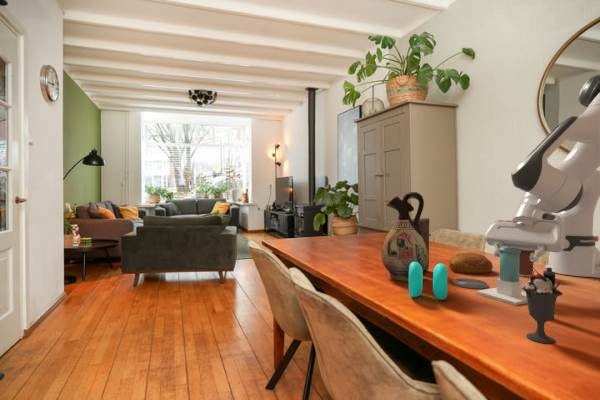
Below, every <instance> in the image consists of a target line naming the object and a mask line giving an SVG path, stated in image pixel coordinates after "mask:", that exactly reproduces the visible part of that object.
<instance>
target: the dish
mask: <svg viewBox="0 0 600 400" xmlns="http://www.w3.org/2000/svg"><path fill="white" fill-rule="evenodd" d="M452 284H453V285H455V286H457V287H460V288H466V289H472V290H473V289H475V290H476V289H477V290H479V289H480V290H484V289H488V283H487V282H485V281H484V280H480V279H476V278H468V277H467V278H464V277H463V278H461V277H460V278H455V279H453V280H452Z"/></svg>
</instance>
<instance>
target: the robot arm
mask: <svg viewBox="0 0 600 400" xmlns="http://www.w3.org/2000/svg"><path fill="white" fill-rule="evenodd" d="M578 102H579V103H580V105H581V106H583V107H585V110H584V111H583V113H581V114H579V115H578V116H576V115H575V116H574V115H572V116H570V117H568V118H566V119H565V120H563V121H562V122H560V123H559V124H558V125H557V126H556V127H555V128H554V129H553V130H552V131H551V132H550V133H549V134H548V135H547V136H546V137H545V138H544V139H543V140H542V141H541V142H540V143H539V144H538V145H536V147H535V148H534V149H533V150H532V151H531V152H530V153H529V154H528V155H527V156H526V157H525V158H524V159H522V160H521V161H520V162H519V163H518V164H516V166H515V167H514V168H513V170H512V171H511V173H510V177H511V181H512V184H513V186H514V187H515V188H517V189H518V190H521V191H523V194H522V195H521V198H520V204H519V205H518V206H517V208H516V209H515V212H514V214H513V216H512V218H511V220H502V219H499V220H495V221H493V222H492V223H491V225H490V226H489V228H488V229H487V231H486V232H485V233H484V239H485V241H486V243H487V244H488V246H494V252H493V253H494V256H495V257H497V258H500V252H499V248H500V247H511V248H520V249H530V250H535V253H531V254H530V255H531V256H530V257H529V258H530V261H534V263H535V262H536V263H537V262H538V260H539V258H540V257H542V256H544V255H546V252H548V253H549V257H548V264H545V267H544V268H545V269H547V268H552V272H555V274H561V275H565V276H566V275H567V276H573V277H584V278H585V277H586V278H587V277H588V278H595V279H596V278H597V279H600V249H598V248H597V247H596V242H599V239H600V237H599V236H598V235H593V234H594V232H593V229H594V214H595V210H596V207H597V204H598V201H599V199H600V170H599V167H600V74H596V75H594V76H592V77H590V78H589V79H588V80H587V81H586V82H585V83H584V84H583V85H582V87H581V89H580V91H579V97H578ZM564 142H575V144H574V146H573V148H572V149H571V150H570V151H569V152H568V153H567V155H566V156H565V157H564V158H563V159H561V161H560V162H559V163H557V164H556V165H555V166H553V165H551V164H550V162H548V159H549V158H550V157H551V156H552V155H553V153H554V152H555V151H556V150H558V149H559V147H560V146H561V145H562V144H563V143H564Z"/></svg>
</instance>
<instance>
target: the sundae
mask: <svg viewBox="0 0 600 400" xmlns="http://www.w3.org/2000/svg"><path fill="white" fill-rule="evenodd" d="M528 266H529V267H530V268H531V267H532V265H528ZM532 268H533V269H532ZM532 268H531V269H532V270H533V272H532V275H531V276H529V280H528V281H526V282H525V284H524V286H522V290H523V292H526V296H527V302H528V303H527V308H528V313H529V315H530V317H531V318H532V319H533V320H535V322H536V330H535V332H530V333H527V334H526V335H525V336H526V338H527V339H529V340H530V341H532V342H536V343H540V344H547V345H549V344H554V343H556V340H555V339H554V338H553V337H552V336H549V335H548V334H546V332H545V324H546V323H547V322H550V320H553V319H552V317H553V313H554V314H555V308H556V301H557V299H558V297H559V296H562V295H563V292H561V291H560V290H559V289H558V287H559V286H560V284H561V282H560V281H559V282H558V283H557V284H555V288H553V285H552V282H551V281H550V280H549V279H548V278H546V277H543V274H542V273H539V272H538V270H536V269H535V268H534V266H533V267H532ZM534 271H535V272H536V273H537V274H536V275H534V274H535V272H534Z"/></svg>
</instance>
